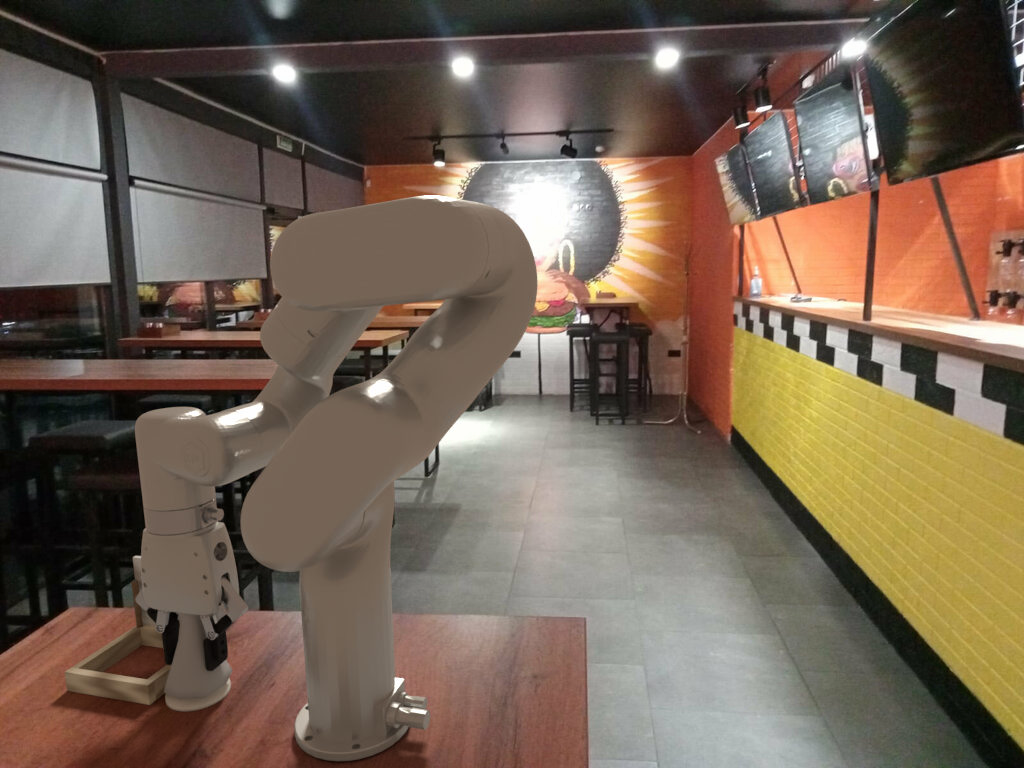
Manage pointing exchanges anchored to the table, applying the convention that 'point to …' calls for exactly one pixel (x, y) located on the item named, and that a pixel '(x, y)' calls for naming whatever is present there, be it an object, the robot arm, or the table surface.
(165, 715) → the table surface
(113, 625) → the table surface
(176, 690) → the flask
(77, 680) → the open-lid wooden box
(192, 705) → the white domed disc
